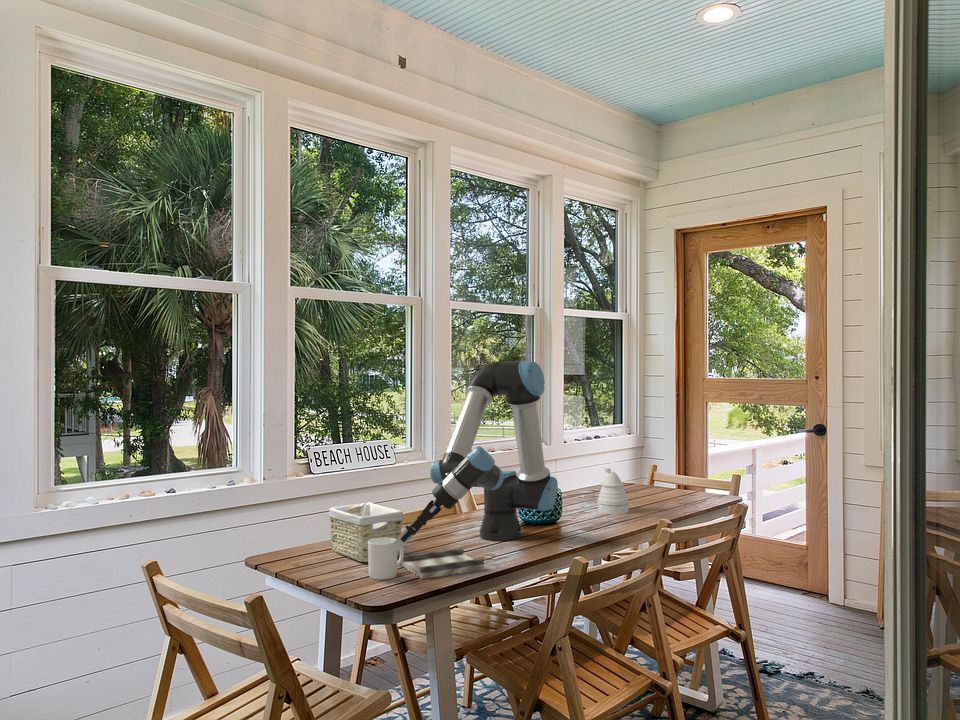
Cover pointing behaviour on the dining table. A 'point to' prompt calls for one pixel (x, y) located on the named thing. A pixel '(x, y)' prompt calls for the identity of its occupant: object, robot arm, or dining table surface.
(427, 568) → the rail board
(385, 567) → the cup
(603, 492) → the honey pot
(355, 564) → the dining table surface
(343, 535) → the storage basket
